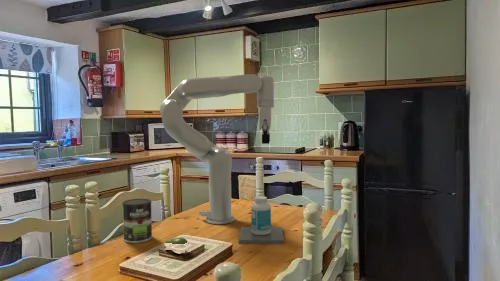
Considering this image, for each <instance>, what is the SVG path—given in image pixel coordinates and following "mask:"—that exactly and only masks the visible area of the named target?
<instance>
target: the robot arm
mask: <svg viewBox="0 0 500 281" xmlns="http://www.w3.org/2000/svg"><path fill="white" fill-rule="evenodd" d="M274 86H275V85H274V78H273V77H272V76H269V75H267V76H266V75H263V76H259V75H257V74H254V73H253V74H238V75H237V74H236V75H226V76H225V75H224V76H223V75H222V76H221V75H220V76H209V77H195V78H186V79H184V80H182V81H180V82H179V83H178V84H177V86H176V87H175V88H174V90H172V92H171V93H170V94H169V95H168V96H167V97H166V98H165V99H164V100H163V102H161V104H160V105H159V106H160V107H159V112H160V113H159V114H160V115H161V122H162V126H163V128H164V130H165V132H166V134H167V135H169V137H171V138H172V139H173V140H175V141H176V142H177V143H178V144H180V145H181V146H183V147H184V148H185V149H186V151H187V152H188V153H189V154H190V155H192V156H194V157H195V158H196V159H198V160H199V161H201V162H202V163H204V164H205V165H207V166H208V167H209V170H208V204H209V206H208V208H209V209H208V210H206V211H205V210H199V216H201V217H205V221H206V223H209V224H212V225H225V224H227V225H228V224H230V223H234V222H235V221H236V216H234V215H232V167H233V158H232V155H231V154H230V152H229V151H228V150H227V149H226V148H222V147H219V146H218V145H216V144H214V143H213V142H211V141H210V139H209V138H208V137H207V136H206V135H205V134H203V133H201V132H200V131H198V130H197V129H195V128H194V127H193V126H192V125H190V124H189V123H188V122H186V120H185V119H184V117H183V111H184V110H185V108H186V107H187V106H188V104H189V103H190V102H191V101H192V100H199V99H209V98H219V97H225V96H230V95H237V94H252V93H256V108H257V109H258V110H259V113H258V130H260V131H261V130H262V131H261V144H263V145H265V144H267V145H268V144H270V142H271V137H270V136H271V133H270V130H271V126H272V109H273V108H275V101H274V99H275V98H274V95H275V94H274Z"/></svg>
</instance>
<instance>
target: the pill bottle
mask: <svg viewBox="0 0 500 281" xmlns="http://www.w3.org/2000/svg"><path fill="white" fill-rule="evenodd" d="M250 215H251V216H250V218H251V219H250V221H251V223H250V224H251V226H250V227H251V229H252V233H253V234H255V235H268V234H270V233H271V227H272V206H271V204H270V203H268V197H267V196H254V203H252V204H251V206H250Z"/></svg>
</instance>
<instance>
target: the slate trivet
mask: <svg viewBox="0 0 500 281" xmlns="http://www.w3.org/2000/svg"><path fill="white" fill-rule="evenodd" d="M284 243H285V239H284V233H283V227H282V226H271V233H270V234H268V235H255V234H253V233H252V229H251V226H241V228H240V232H239V238H238V244H244V245H245V244H246V245H247V244H251V245H252V244H254V245H255V244H256V245H257V244H259V245H261V244H265V245H266V244H269V245H271V244H272V245H273V244H278V245H279V244H280V245H282V244H284Z"/></svg>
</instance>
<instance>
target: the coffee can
mask: <svg viewBox="0 0 500 281" xmlns="http://www.w3.org/2000/svg"><path fill="white" fill-rule="evenodd" d="M122 215H123V216H122V218H123V219H122V221H123V222H122V223H123V241H124V242H126V243H128V244H129V243H130V244H140V243H145V242H148V241H150V240H151V239H152V238H153V236H152V234H153V233H152V232H153V230H152V229H153V228H152V222H153V221H152V200H151V199H149V198H133V199H132V198H131V199H126V200H124V201H122Z"/></svg>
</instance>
